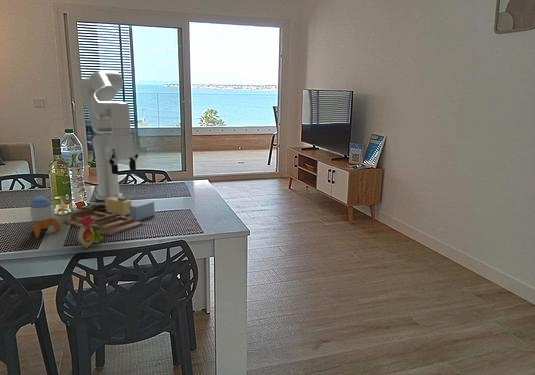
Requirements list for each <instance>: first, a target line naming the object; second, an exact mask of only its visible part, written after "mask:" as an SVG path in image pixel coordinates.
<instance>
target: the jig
mask: <svg viewBox="0 0 535 375" xmlns="http://www.w3.org/2000/svg"><path fill="white" fill-rule="evenodd" d="M88 216H91V218H92V219H94V221H93V222H92V223H91V224H90V227H92V229H93V231H98V232H99V234H101V233H102V234H101V235H104V234H105V235H106V236H108V237H112V236H114V234H115V235H117V233H118V234H119V233H120V232H121V233H123V232H126V231H129V230H132V229H134V227H135V228H138V227H141V226H143V225H144V222H141V221H139V220H138V221H135V220H134V219H133V218H130V216H129V217H127V216H126V215H118V214H116V213H112V214H110V213H105V212H102V211H95V210H94V208H93V207H89V208H86V209H83V210H78V211H75V212H71V213H70V219H66V220H63V223H64V224H66V225H71V226H73V227H77V228H79V229H80V228H81V227H82V225H83V224H80V223H79V220H80V219H82V218H83V217H84V218H87V217H88ZM140 225H141V226H140ZM137 226H138V227H137ZM105 235H104V236H105ZM111 235H112V236H111Z"/></svg>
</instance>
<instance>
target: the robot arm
mask: <svg viewBox="0 0 535 375" xmlns="http://www.w3.org/2000/svg"><path fill="white" fill-rule="evenodd" d="M123 86H124V80H123V77H122V75H121V74H120V73H119V72H118V71H103V70H102V71H101V70H100V71H99V70H98V71H95V72H93V73H90V76H89V77H87V78H83V79H80V80H79V82H78V92H79V95H80V98H81V100H82V103H83V104H84V106H85V107H86V110H87V112H88V117H89V122H90V125H91V128H92V129H91V130H93V132H94V133H95V134H96V135H94V136H93V137H92V140H91V141H92V148H93V151H94V156H95V165H96V176H97V177H96V178H97V188H95V192H97V194H96V195H95V199H96V200H99V201H105V198H108V197H117V198H119V197H124V196H123V192H120V185H119V184H120V183H119V166H118V165H119V164H118V162H119V161H121V160H122V161H123V160H126V159H127V160H129V161H128V162H129V170H130V171H137V164H136V162H137V159H138V158H139V153H140V150H139V149H137V148H135V144H134V138H133V135H132V134H131V133H132V131H133V130H132V128H131V116H130V105H129V103H127V102H124V101H122V100H114V98H115V97H116V96H117V94H118V93H119V92H120V91H121V90H122V89H123Z"/></svg>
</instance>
